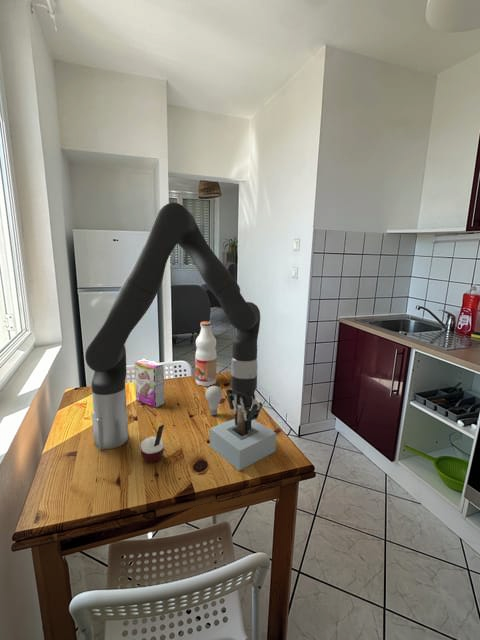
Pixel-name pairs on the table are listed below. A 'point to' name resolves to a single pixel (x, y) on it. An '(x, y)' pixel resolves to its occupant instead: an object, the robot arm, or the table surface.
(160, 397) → the candy bar box
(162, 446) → the cocoa
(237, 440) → the socket block
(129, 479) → the table surface
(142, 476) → the table surface
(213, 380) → the fruit juice
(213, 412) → the lightbulb
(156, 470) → the table surface
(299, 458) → the table surface
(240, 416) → the dowel
